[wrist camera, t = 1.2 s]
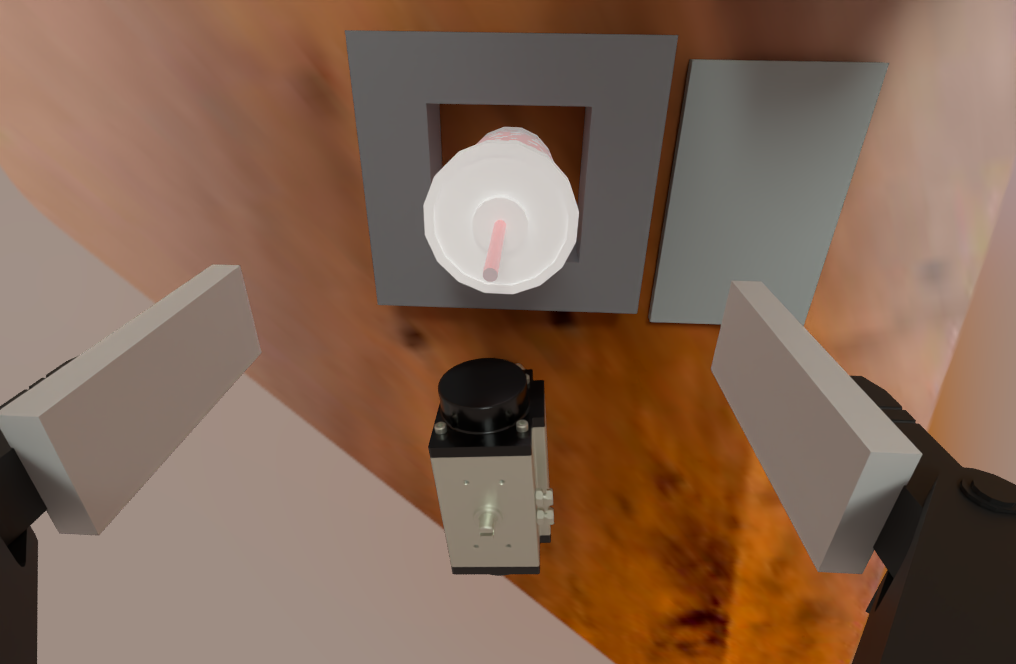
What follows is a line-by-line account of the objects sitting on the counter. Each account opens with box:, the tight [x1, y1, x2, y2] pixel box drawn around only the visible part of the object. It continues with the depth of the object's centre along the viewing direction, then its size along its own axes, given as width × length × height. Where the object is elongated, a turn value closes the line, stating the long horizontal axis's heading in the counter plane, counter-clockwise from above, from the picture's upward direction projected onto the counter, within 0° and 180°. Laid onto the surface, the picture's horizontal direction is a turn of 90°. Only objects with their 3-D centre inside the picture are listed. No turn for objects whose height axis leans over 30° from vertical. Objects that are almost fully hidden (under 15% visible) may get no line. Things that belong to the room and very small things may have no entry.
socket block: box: [345, 31, 678, 314], centre depth 27 cm, size 13×14×4 cm
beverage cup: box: [423, 127, 579, 294], centre depth 22 cm, size 6×6×14 cm
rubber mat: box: [648, 59, 889, 326], centre depth 29 cm, size 14×9×1 cm, turn 179°
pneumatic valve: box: [428, 358, 554, 576], centre depth 30 cm, size 6×12×12 cm, turn 4°
